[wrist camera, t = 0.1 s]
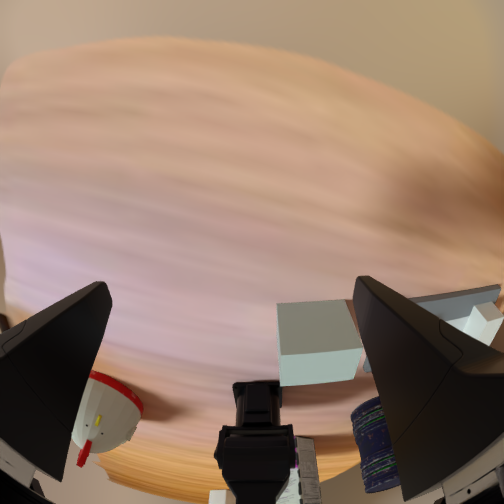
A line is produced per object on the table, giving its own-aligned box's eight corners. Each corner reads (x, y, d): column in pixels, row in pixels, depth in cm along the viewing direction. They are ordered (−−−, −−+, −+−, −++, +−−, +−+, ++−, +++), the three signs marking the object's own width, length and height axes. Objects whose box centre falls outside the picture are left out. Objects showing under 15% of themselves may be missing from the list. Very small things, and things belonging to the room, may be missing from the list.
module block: (339, 330, 29) (354, 378, 23) (276, 335, 30) (280, 386, 23) (345, 298, 27) (364, 347, 21) (276, 303, 28) (280, 355, 21)
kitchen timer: (155, 400, 37) (133, 482, 24) (130, 422, 42) (112, 486, 29) (77, 356, 34) (37, 433, 20) (67, 387, 39) (39, 448, 25)
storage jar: (338, 415, 39) (352, 493, 25) (388, 386, 35) (415, 468, 22) (367, 426, 42) (381, 492, 28) (411, 401, 38) (434, 469, 25)
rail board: (471, 342, 32) (483, 361, 28) (363, 366, 32) (371, 393, 28) (497, 284, 27) (515, 302, 23) (382, 301, 27) (397, 329, 23)
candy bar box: (281, 456, 47) (284, 521, 33) (261, 453, 46) (261, 521, 32) (316, 438, 43) (324, 513, 28) (295, 434, 42) (300, 514, 27)
